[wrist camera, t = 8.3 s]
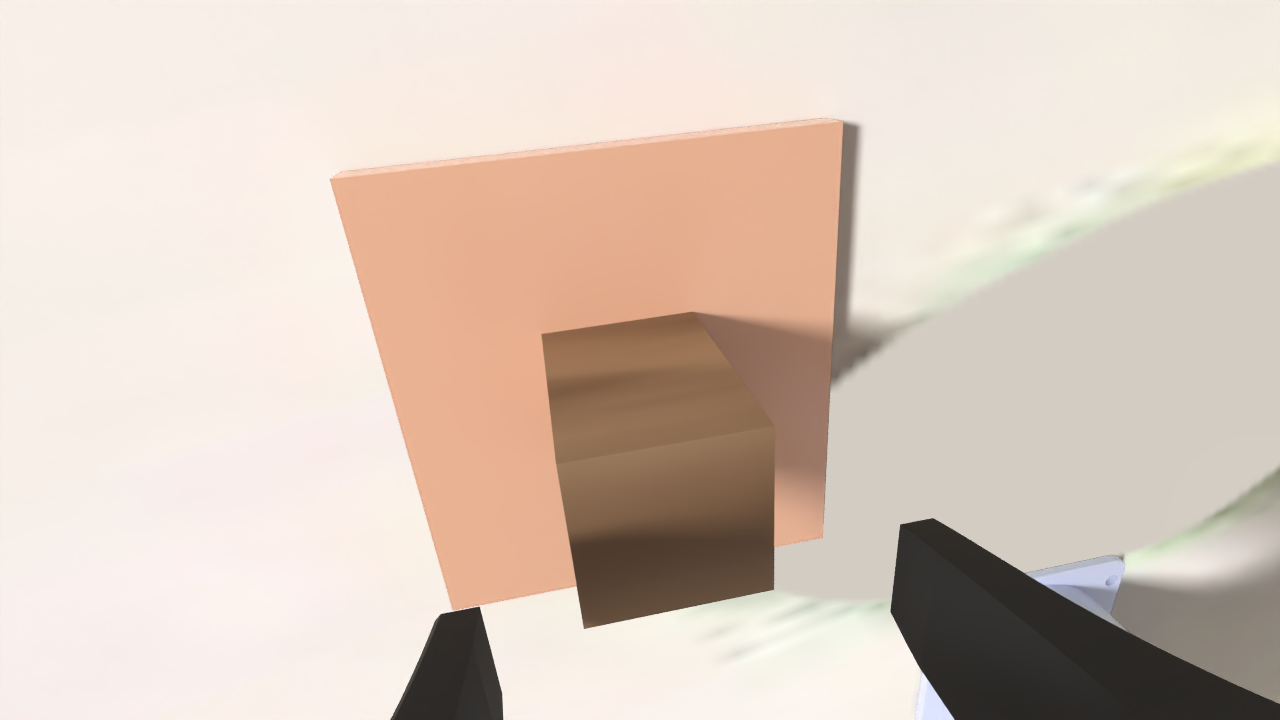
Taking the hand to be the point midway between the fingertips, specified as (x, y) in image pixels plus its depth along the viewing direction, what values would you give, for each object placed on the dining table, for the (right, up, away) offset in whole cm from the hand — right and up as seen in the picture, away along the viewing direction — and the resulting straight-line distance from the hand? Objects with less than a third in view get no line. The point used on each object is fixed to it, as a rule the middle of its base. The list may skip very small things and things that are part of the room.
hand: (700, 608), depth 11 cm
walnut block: (-1, +3, +7) cm, 8 cm away
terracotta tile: (-2, +4, +8) cm, 9 cm away
